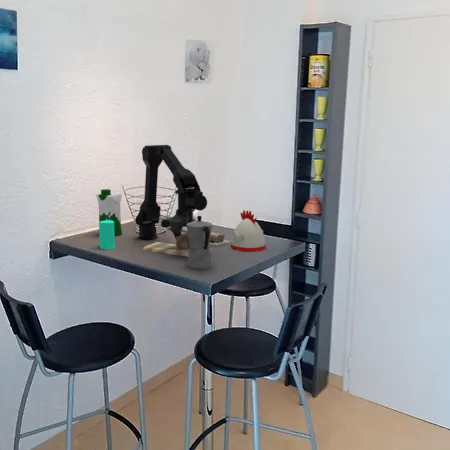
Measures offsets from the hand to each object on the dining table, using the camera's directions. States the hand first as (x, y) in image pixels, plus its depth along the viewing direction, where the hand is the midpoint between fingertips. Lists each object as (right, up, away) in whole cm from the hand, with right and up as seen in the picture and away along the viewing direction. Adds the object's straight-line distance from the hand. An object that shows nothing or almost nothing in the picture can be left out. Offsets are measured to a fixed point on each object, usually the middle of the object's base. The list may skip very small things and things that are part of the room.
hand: (185, 246), depth 214 cm
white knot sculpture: (-2, +6, +40) cm, 41 cm away
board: (-5, -2, +3) cm, 6 cm away
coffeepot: (+7, -7, -18) cm, 20 cm away
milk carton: (-34, +4, +27) cm, 44 cm away
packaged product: (+7, +1, +18) cm, 19 cm away
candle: (-31, -1, +7) cm, 32 cm away
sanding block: (0, -1, 0) cm, 1 cm away
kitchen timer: (+24, -1, +10) cm, 26 cm away
